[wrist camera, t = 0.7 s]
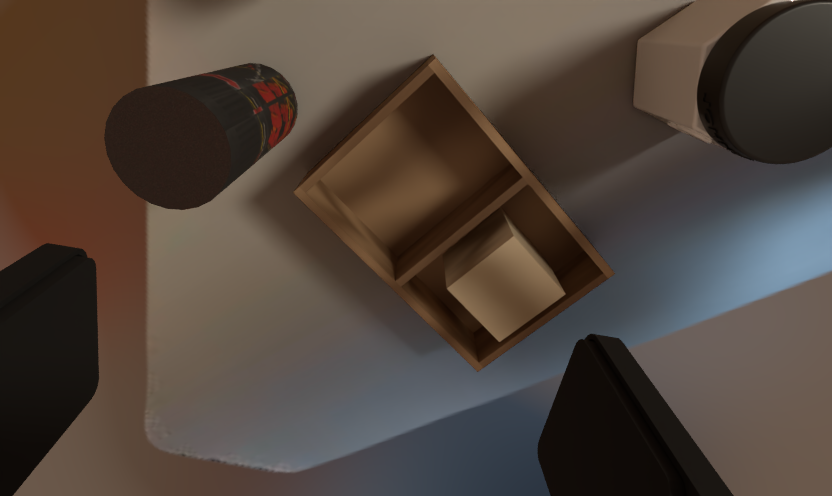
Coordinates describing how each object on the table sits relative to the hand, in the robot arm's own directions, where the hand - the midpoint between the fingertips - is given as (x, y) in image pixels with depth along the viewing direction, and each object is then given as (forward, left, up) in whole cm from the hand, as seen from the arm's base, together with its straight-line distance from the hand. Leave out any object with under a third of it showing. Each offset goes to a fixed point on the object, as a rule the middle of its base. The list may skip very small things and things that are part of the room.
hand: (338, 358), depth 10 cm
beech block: (+2, +14, -31) cm, 33 cm away
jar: (-18, +12, -31) cm, 38 cm away
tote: (+2, +9, -31) cm, 32 cm away
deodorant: (+7, -7, -31) cm, 33 cm away
